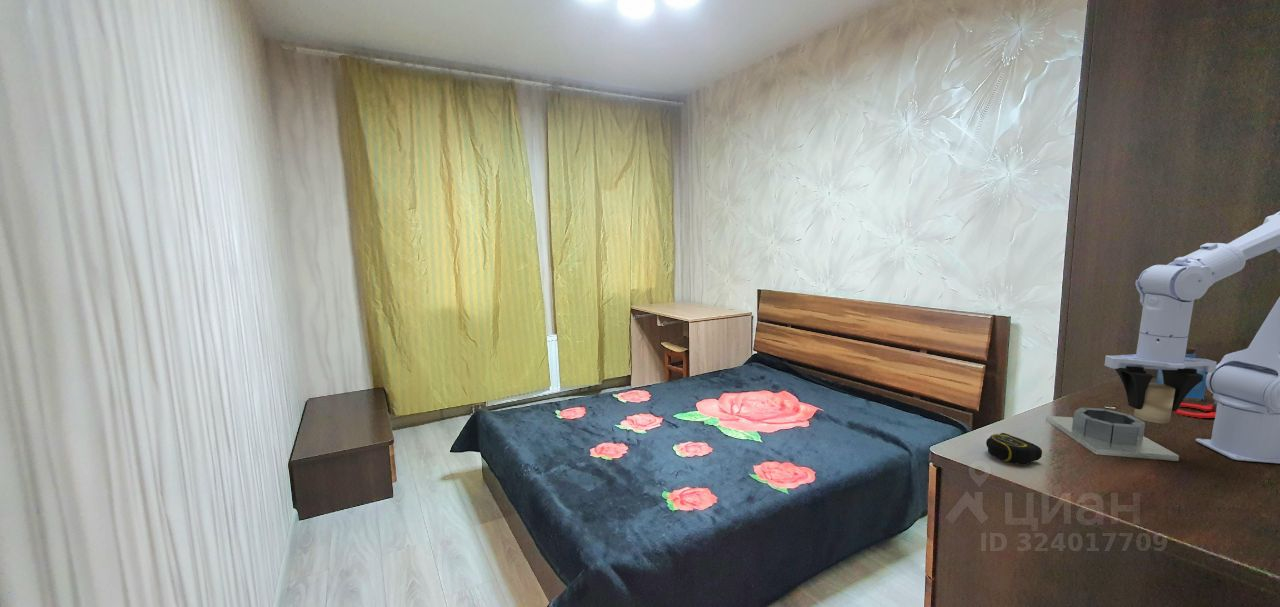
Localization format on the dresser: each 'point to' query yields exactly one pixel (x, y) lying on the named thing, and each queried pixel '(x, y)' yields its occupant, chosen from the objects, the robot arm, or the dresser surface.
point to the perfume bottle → (1200, 387)
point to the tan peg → (1157, 403)
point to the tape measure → (1013, 449)
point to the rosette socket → (1111, 434)
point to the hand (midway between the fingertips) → (1151, 408)
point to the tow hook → (1205, 408)
